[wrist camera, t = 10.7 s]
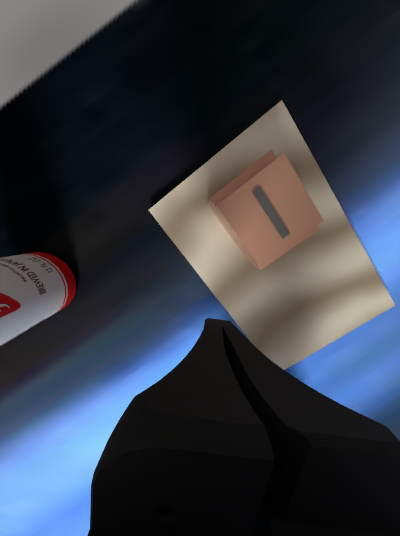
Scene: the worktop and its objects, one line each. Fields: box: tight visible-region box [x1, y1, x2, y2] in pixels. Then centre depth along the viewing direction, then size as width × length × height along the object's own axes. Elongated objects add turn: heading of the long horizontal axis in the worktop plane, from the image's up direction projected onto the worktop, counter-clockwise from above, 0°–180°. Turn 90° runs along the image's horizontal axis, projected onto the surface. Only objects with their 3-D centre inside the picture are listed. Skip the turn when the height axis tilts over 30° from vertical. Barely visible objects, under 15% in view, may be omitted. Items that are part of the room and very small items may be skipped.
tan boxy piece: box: [208, 149, 324, 270], centre depth 14 cm, size 6×5×5 cm
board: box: [149, 100, 395, 370], centre depth 17 cm, size 22×14×4 cm, turn 37°
